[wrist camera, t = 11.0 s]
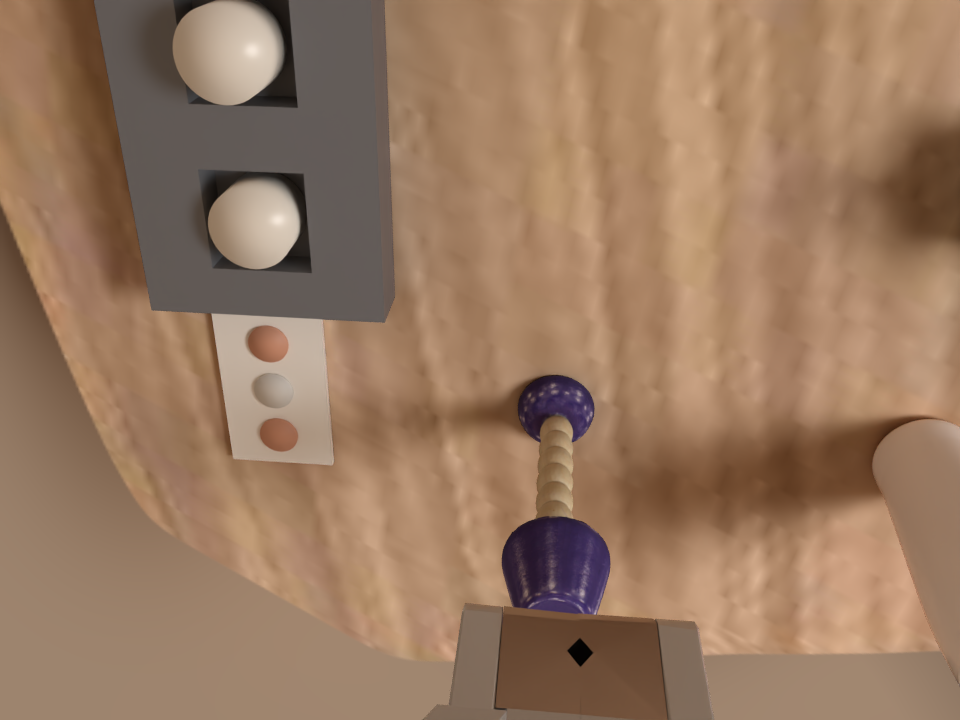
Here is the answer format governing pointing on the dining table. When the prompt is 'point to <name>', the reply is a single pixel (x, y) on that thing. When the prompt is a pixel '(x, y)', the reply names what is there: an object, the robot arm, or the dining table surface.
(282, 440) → the pattern card
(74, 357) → the dining table surface
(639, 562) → the dining table surface
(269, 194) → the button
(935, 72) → the dining table surface
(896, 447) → the drinking glass
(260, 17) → the button middle
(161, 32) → the button panel
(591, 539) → the toy lamp
